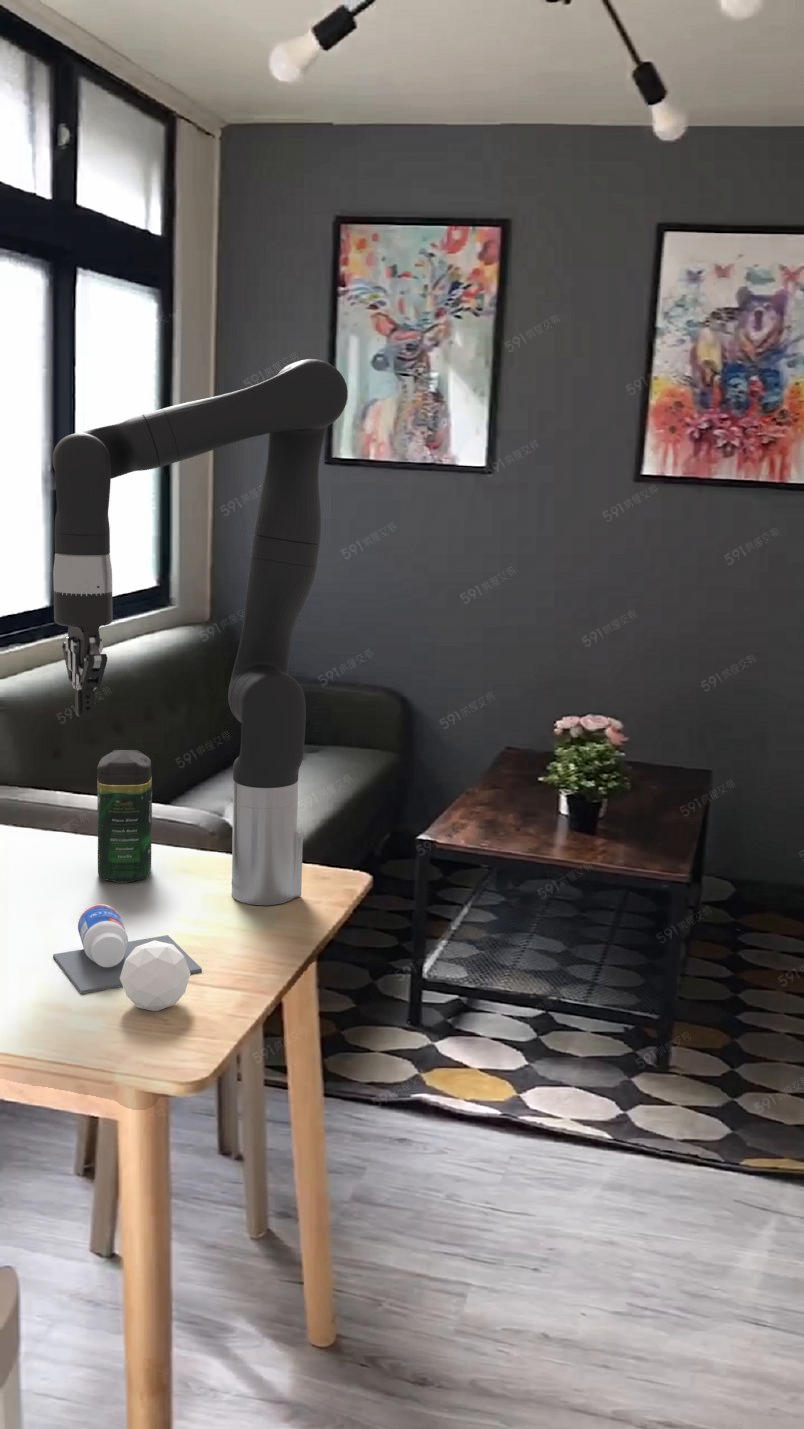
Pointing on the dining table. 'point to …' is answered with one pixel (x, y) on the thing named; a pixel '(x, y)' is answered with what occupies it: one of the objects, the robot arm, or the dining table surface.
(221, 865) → the dining table surface
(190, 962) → the mat
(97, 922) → the pill bottle
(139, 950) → the geometric ball
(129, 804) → the coffee jar
